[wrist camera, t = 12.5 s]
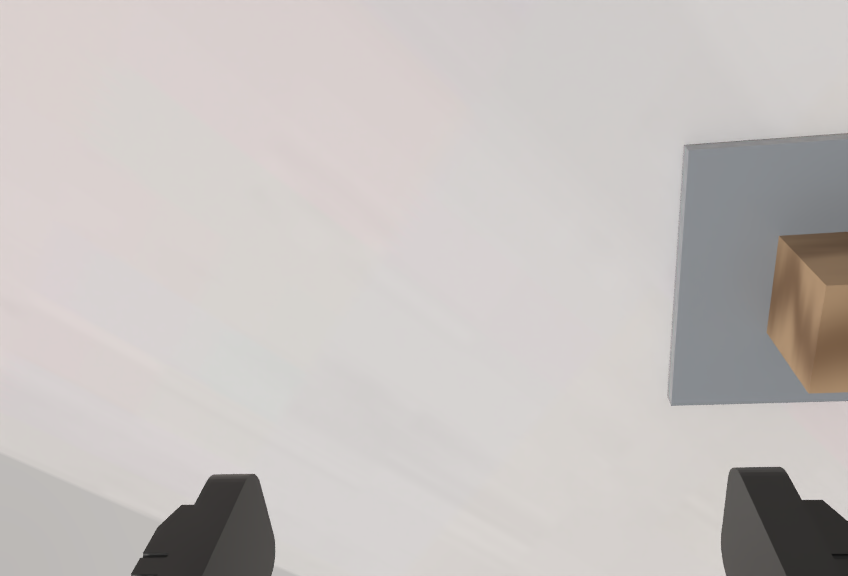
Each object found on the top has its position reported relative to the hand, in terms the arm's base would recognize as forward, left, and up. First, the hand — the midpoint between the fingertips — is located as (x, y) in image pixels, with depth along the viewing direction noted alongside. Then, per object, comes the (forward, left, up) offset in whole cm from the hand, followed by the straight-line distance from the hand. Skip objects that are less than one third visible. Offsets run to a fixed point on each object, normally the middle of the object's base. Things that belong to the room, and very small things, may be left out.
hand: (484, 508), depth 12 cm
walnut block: (+10, +18, -27) cm, 34 cm away
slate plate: (+10, +18, -28) cm, 35 cm away
